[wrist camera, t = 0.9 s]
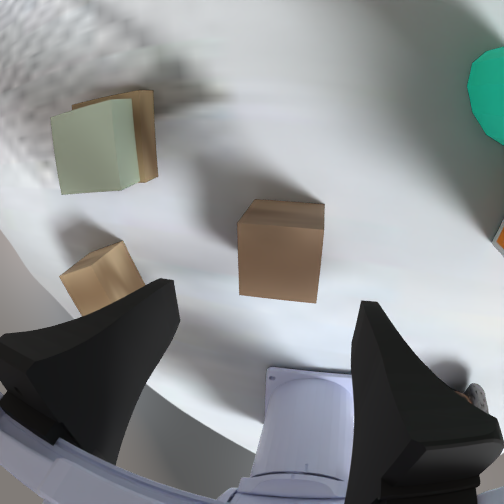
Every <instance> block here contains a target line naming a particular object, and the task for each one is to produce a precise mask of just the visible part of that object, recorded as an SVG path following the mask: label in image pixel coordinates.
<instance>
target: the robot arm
mask: <svg viewBox="0 0 504 504" xmlns="http://www.w3.org/2000/svg"><path fill="white" fill-rule="evenodd" d="M179 323H180V316H179V311H178V305H177V299H176V293H175V286H174V280H169V279H162V278H160V279H157V280H155V281H153V282H151V283H149V284H147V285H145V286H143V287H141V288H140V289H138V290H136V291H134V292H132V293H130V294H128V295H127V296H125V297H123V298H121V299H119V300H117V301H115V302H113V303H111V304H109V305H107V306H105V307H103V308H101V309H99V310H97V311H95V312H92V313H90V314H88V315H85V316H82V317H80V318H77V319H74V320H71V321H68V322H65V323H62V324H58V325H55V326H52V327H47V328H43V329H38V330H33V331H27V332H17V333H7V334H4V335H2V336H1V337H0V381H1V382H2V384H3V385H4V387H5V388H6V390H7V392H6V394H5V395H3V394H2V393H1V392H0V465H1V466H3V467H4V468H5V469H6V470H7V471H8V472H9V473H11V474H12V475H13V476H14V477H15V478H17V479H18V480H19V481H20V482H22V483H23V484H24V485H26V486H27V487H28V488H30V489H31V490H32V491H33V492H35V493H36V494H38V495H39V496H40V497H42V498H43V499H44V501H43V502H42V504H504V486H503V487H500V488H496V489H492V490H489V491H486V492H483V493H481V494H479V495H476V487H478V486H479V485H480V477H479V474H480V473H482V472H483V471H484V470H485V469H486V468H487V467H488V466H489V465H491V464H492V463H493V462H494V461H495V460H496V459H497V457H498V456H499V455H500V454H501V452H502V450H503V448H504V440H503V437H502V433H501V429H500V426H499V423H498V420H497V418H495V417H493V416H491V415H490V414H488V413H486V412H484V411H483V410H481V409H479V408H478V407H476V406H474V405H473V404H471V403H470V402H468V401H467V400H466V399H464V398H463V397H461V396H460V395H459V394H457V393H456V392H455V391H453V390H452V389H451V388H450V387H449V386H447V385H446V384H445V383H444V382H443V381H442V380H440V379H439V378H438V377H437V376H436V375H435V374H434V373H433V372H432V371H431V370H430V369H429V368H428V367H427V366H426V365H425V364H424V363H423V362H422V361H421V360H420V359H419V358H418V356H417V355H416V354H415V353H414V352H413V351H412V349H411V348H410V347H409V346H408V345H407V343H406V342H405V341H404V339H403V338H402V337H401V335H400V334H399V332H398V331H397V330H396V328H395V327H394V325H393V324H392V323H391V321H390V320H389V318H388V317H387V315H386V314H385V312H384V311H383V309H382V308H381V306H380V305H379V303H378V302H372V301H361V305H360V309H359V314H358V318H357V323H356V327H355V331H354V335H353V339H352V347H351V374H352V375H349V374H336V373H324V372H313V371H304V370H295V369H286V368H278V367H269V368H268V369H267V372H266V396H265V421H264V425H263V429H262V433H261V437H260V441H259V445H258V449H257V452H256V456H255V460H254V464H253V468H252V471H251V475H250V478H247V477H242V478H241V480H240V484H239V487H238V488H230V489H228V490H227V491H225V492H224V493H223V494H222V495H221V496H219V497H218V498H217V500H216V499H212V498H207V497H204V496H200V495H196V494H193V493H189V492H186V491H182V490H179V489H176V488H173V487H170V486H167V485H164V484H161V483H158V482H155V481H153V480H150V479H147V478H144V477H142V476H139V475H137V474H134V473H132V472H129V471H126V470H124V469H122V468H119V467H117V466H115V465H116V461H117V457H118V454H119V451H120V447H121V443H122V440H123V437H124V435H125V431H126V429H127V426H128V423H129V420H130V418H131V415H132V413H133V410H134V408H135V405H136V403H137V401H138V399H139V396H140V394H141V392H142V390H143V388H144V386H145V384H146V382H147V380H148V379H149V377H150V376H151V374H152V372H153V371H154V369H155V367H156V366H157V364H158V363H159V361H160V359H161V358H162V356H163V355H164V353H165V351H166V350H167V348H168V346H169V345H170V343H171V341H172V339H173V337H174V335H175V332H176V330H177V328H178V325H179ZM272 376H274V377H272ZM353 425H354V436H353Z"/></svg>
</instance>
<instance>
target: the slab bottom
mask: <svg viewBox="0 0 504 504" xmlns="http://www.w3.org/2000/svg"><path fill="white" fill-rule="evenodd" d="M112 99H132V110H133V122H134V132H135V142H136V151H137V160H138V168H139V176H140V182H138V183H146V182H148V181H150V180H152V179H154V178H156V177H158V168H157V155H156V141H155V124H154V101H153V91H151V90H138V91H132V92H127V93H122V94H117V95H112V96H107V97H103V98H98V99H94V100H90V101H86V102H82V103H78V104H74V105H72V110H75V109H79V108H82V107H85V106H89V105H92V104H96V103H100V102H103V101H107V100H112Z"/></svg>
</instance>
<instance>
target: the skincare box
mask: <svg viewBox="0 0 504 504" xmlns="http://www.w3.org/2000/svg"><path fill="white" fill-rule="evenodd" d="M492 244H493V246H494V247H495V248H496V249H497V250H498V251H499V252H500V253H501V254H502V255H503V257H504V219H503V221H502V223H501V225H500V227H499V230H498V231H497V233H496V235H495V237H494V239H493V241H492Z"/></svg>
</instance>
